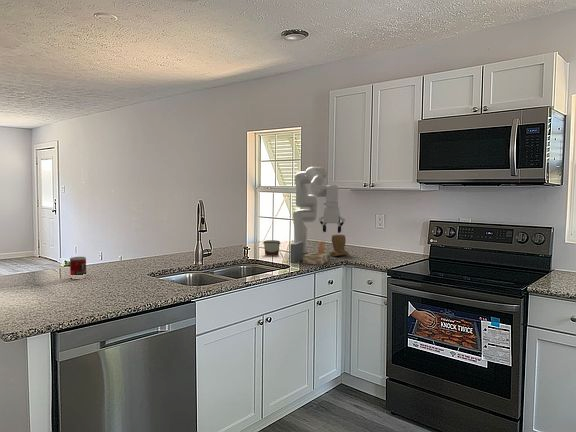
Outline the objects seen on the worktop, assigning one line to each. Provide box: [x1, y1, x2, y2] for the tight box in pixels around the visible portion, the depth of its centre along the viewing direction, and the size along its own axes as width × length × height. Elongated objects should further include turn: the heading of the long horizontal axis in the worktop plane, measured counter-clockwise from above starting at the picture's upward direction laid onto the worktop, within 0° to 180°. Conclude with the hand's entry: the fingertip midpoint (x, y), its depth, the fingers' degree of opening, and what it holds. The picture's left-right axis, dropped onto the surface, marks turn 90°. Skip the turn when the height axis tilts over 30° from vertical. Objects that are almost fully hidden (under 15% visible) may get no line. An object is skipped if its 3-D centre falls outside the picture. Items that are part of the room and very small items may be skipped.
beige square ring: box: [302, 252, 328, 266], centre depth 286 cm, size 12×12×5 cm
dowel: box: [317, 241, 325, 254], centre depth 297 cm, size 4×4×12 cm
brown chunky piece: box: [329, 234, 350, 257], centre depth 316 cm, size 15×12×15 cm
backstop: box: [289, 242, 304, 264], centre depth 291 cm, size 14×3×12 cm, turn 155°
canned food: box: [69, 256, 87, 275], centre depth 237 cm, size 8×8×11 cm
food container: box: [262, 239, 281, 256], centre depth 318 cm, size 12×6×10 cm, turn 84°
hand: (331, 232), depth 280 cm, fingers open, 9 cm apart
